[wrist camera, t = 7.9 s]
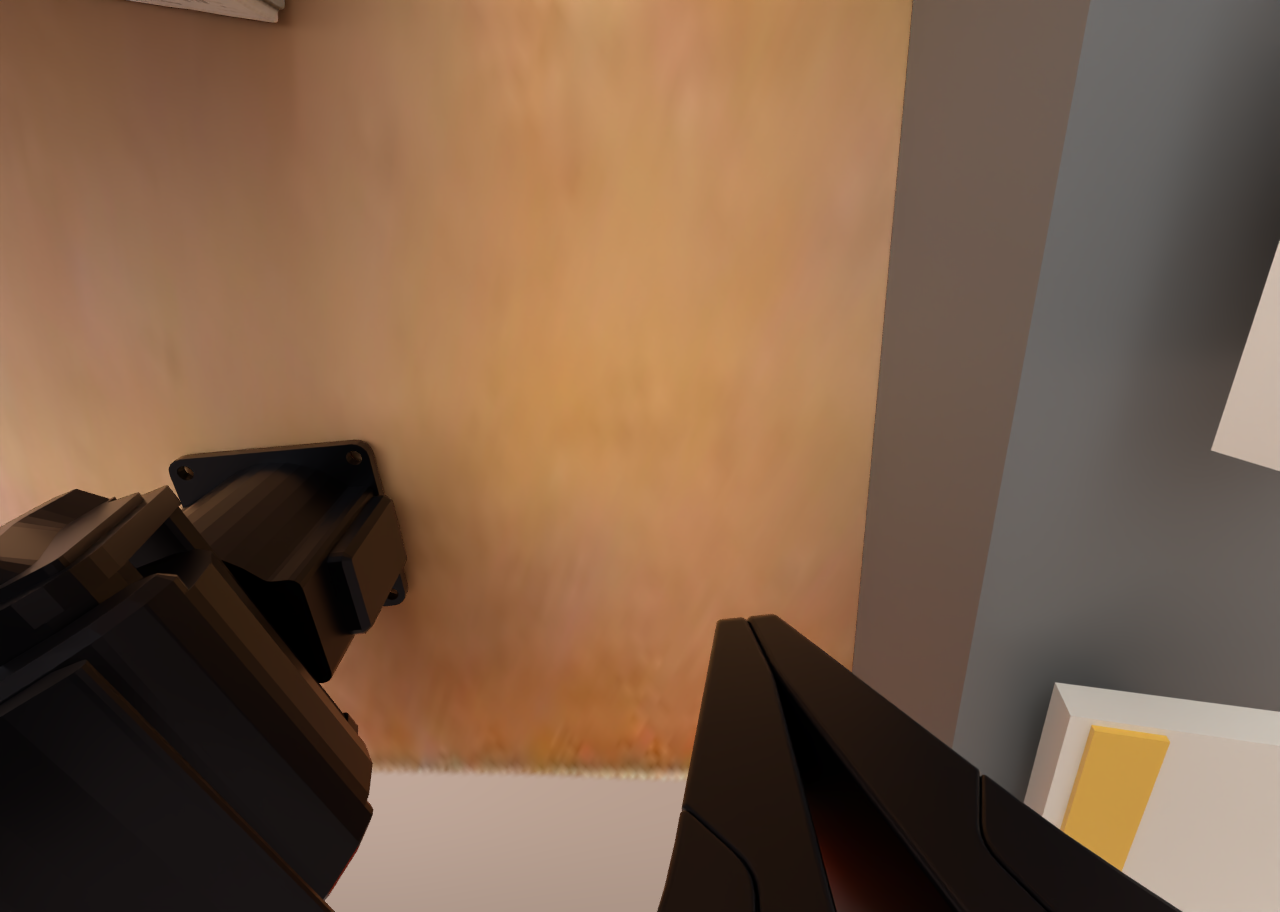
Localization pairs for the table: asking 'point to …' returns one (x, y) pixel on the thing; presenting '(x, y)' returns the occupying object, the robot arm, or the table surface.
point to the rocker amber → (1167, 793)
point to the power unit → (1073, 368)
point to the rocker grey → (1256, 386)
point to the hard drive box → (229, 7)
